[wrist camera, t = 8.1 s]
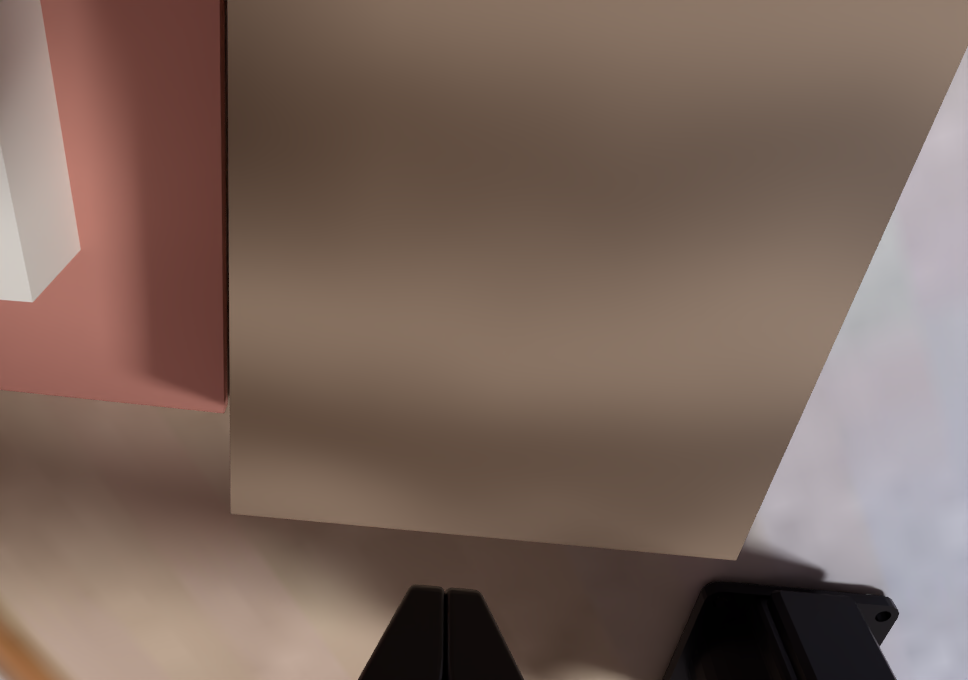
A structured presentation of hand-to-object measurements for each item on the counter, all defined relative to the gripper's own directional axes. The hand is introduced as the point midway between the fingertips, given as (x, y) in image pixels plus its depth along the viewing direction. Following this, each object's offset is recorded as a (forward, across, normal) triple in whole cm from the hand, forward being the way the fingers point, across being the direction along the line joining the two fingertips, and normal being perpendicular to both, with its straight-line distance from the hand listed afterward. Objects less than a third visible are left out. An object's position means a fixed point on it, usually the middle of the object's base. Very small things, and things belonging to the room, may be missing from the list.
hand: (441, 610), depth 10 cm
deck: (+11, -2, -3) cm, 12 cm away
